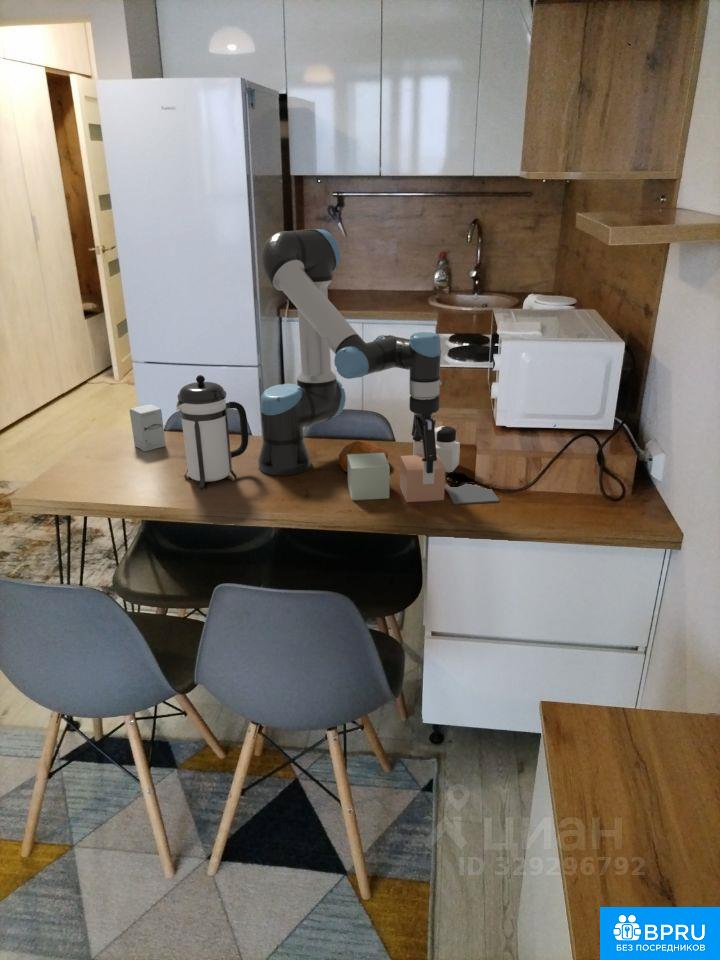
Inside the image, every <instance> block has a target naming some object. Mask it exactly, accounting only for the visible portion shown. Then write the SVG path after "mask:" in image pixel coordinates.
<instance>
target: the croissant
mask: <svg viewBox="0 0 720 960" xmlns="http://www.w3.org/2000/svg"><path fill="white" fill-rule="evenodd" d="M367 453H384V454H385V456H386V459H387V461H388V460H389V459H388V457H389V454H388V452H387V450H385V448H384V449H383V448H382V447H381V446H379V445H376V444H374V443H371V442H370V441H368V440H367V441H366V440H364V441H363V440H356V441H353V442H350V443H348V444H346V445H345V446H344V447H343V449H342V450H341V451H340V453H339V454H338V463H339V465H340V467H341V468H342V469H343V470H344V472H347V473H348V464H347V454H367ZM388 462H389V461H388Z"/></svg>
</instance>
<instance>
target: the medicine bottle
mask: <svg viewBox="0 0 720 960" xmlns="http://www.w3.org/2000/svg"><path fill="white" fill-rule="evenodd" d="M456 436H457V430H456V428H454V427H452V426H448V425H441V426H438V427H435V442H436V454H437V455H438V457H439V458H440V460H441V462H442V463H443V465H444V467H445V473H449V474H451V473H450V472H452V473H453V472H454V471H455V470H456V468H457V467H458V466H459V464H460V450H461V447H460V446H461V442H460V441H456V438H457V437H456Z"/></svg>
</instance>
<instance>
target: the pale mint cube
mask: <svg viewBox="0 0 720 960" xmlns="http://www.w3.org/2000/svg"><path fill="white" fill-rule="evenodd" d="M387 459H388V458H387ZM387 459H386V456H385V454H384V453H367V454H347V464H348V472H347V486H348V491H349V496H350V499H351V501H360V500H361V501H365V500H380V499H382V500H383V499H390V482H391V481H390V479H391V478H390V475H391V474H390V470H391V469H390V464H389V461H387Z"/></svg>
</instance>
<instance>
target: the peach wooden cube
mask: <svg viewBox="0 0 720 960" xmlns="http://www.w3.org/2000/svg"><path fill="white" fill-rule="evenodd" d="M436 455H437V454H436ZM431 456H432V455H431ZM399 457H400V458H399V459H400V460H399V463H400V464H399V467H400V468H399V470H400V471H399V488H400V490H401V493H402V495H403V497H404V500H405V503H414V502H415V503H416V502H432V501H445V484H446V483H445V482H446V472H445V467H444V465H443V463H442V462H441V460H440V458H439V457H438V455H437V461H435V464H434V484H423V461H422V458H424V455H413V454H411V455H410V454H409V455H400V456H399Z"/></svg>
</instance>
